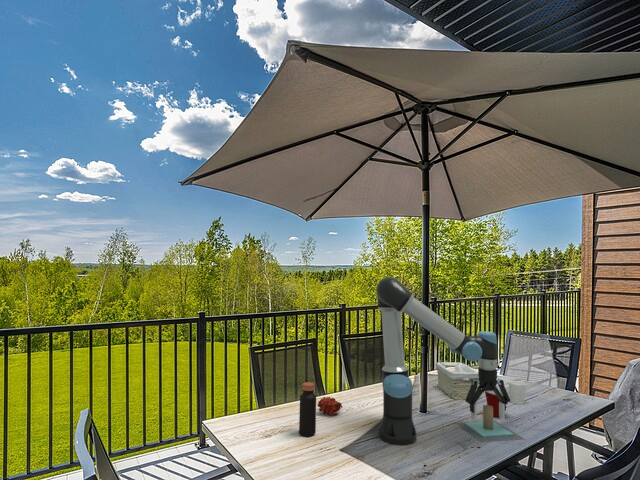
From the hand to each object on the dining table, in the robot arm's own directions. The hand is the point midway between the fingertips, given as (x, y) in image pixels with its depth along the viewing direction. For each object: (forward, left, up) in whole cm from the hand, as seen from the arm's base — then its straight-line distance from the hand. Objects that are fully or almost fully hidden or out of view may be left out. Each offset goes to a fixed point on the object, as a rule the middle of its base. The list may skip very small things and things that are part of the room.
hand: (488, 419), depth 168 cm
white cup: (+39, +33, -5) cm, 51 cm away
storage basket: (+15, +51, -5) cm, 53 cm away
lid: (0, 0, -5) cm, 5 cm away
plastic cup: (+15, +16, -5) cm, 23 cm away
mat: (0, 0, -5) cm, 5 cm away
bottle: (-77, +8, -5) cm, 78 cm away
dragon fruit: (-63, +29, -5) cm, 70 cm away
